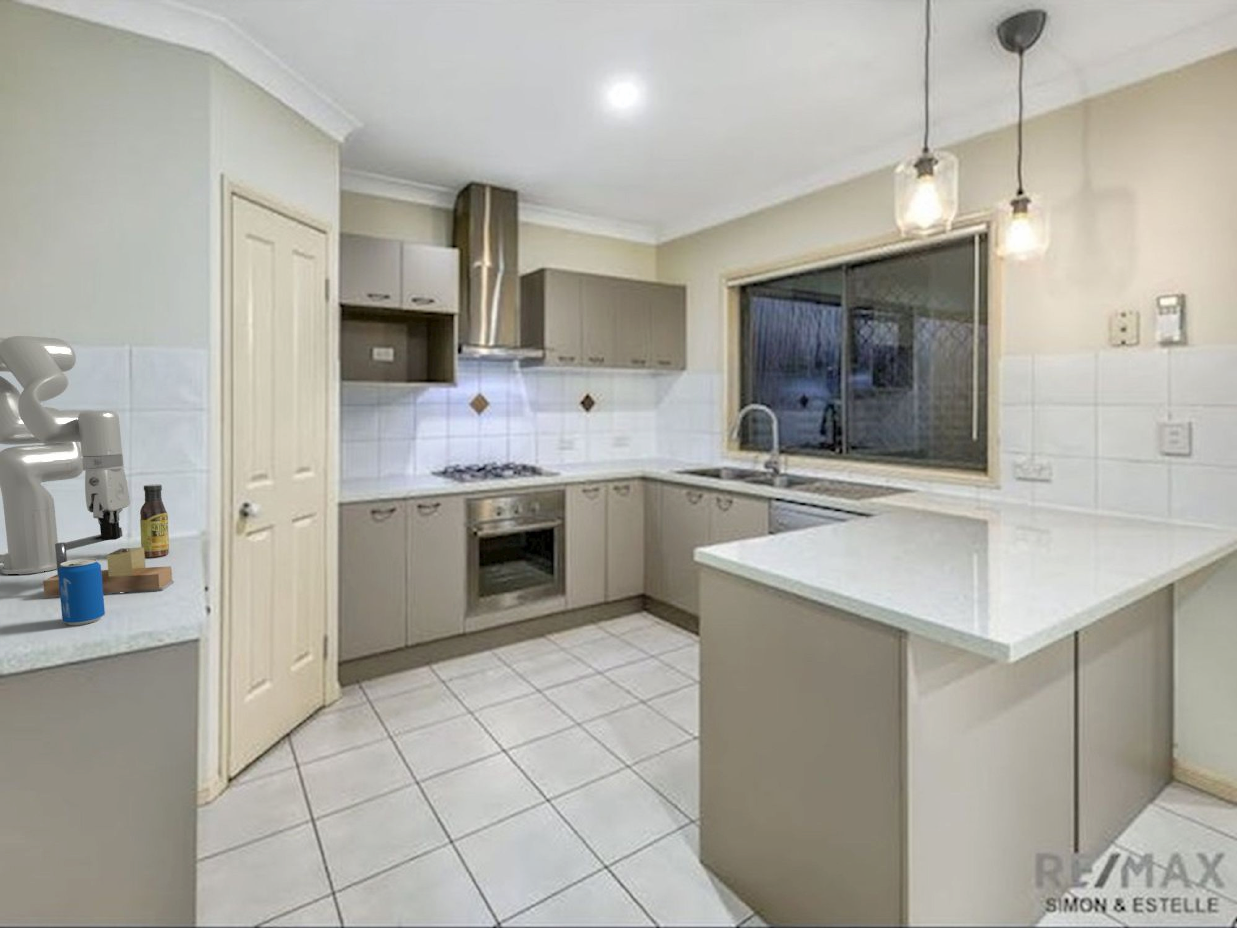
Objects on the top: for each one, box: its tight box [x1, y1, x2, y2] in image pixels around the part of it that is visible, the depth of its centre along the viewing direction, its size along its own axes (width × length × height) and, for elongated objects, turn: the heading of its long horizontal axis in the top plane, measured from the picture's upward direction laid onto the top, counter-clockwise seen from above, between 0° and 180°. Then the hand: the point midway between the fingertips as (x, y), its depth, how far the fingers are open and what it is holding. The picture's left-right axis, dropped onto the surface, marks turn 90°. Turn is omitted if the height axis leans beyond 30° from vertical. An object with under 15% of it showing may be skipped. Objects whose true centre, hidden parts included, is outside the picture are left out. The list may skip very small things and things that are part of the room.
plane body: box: [42, 565, 175, 599], centre depth 147 cm, size 23×7×4 cm, turn 105°
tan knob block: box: [106, 546, 146, 577], centre depth 147 cm, size 5×6×5 cm
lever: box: [55, 526, 123, 574], centre depth 151 cm, size 16×2×8 cm, turn 174°
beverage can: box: [57, 557, 106, 626], centre depth 126 cm, size 6×6×12 cm
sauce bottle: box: [139, 483, 170, 559], centre depth 177 cm, size 7×6×20 cm
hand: (111, 539), depth 153 cm, fingers closed
